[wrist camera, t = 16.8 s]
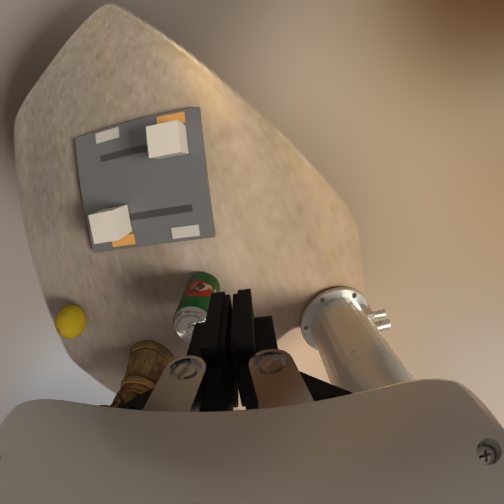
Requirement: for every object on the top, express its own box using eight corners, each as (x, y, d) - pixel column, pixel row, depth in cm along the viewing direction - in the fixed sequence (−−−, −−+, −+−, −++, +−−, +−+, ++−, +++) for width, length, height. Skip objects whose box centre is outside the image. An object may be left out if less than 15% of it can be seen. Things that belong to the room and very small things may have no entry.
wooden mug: (106, 354, 47) (70, 417, 30) (157, 334, 46) (126, 409, 28) (132, 385, 50) (107, 450, 32) (184, 369, 48) (166, 445, 31)
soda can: (181, 282, 43) (162, 323, 31) (206, 265, 42) (194, 302, 30) (201, 306, 44) (190, 351, 33) (226, 289, 43) (222, 333, 32)
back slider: (127, 204, 37) (112, 210, 32) (132, 231, 38) (118, 240, 33) (104, 209, 37) (88, 215, 32) (109, 234, 38) (94, 244, 33)
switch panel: (200, 108, 35) (198, 106, 33) (215, 234, 40) (214, 237, 39) (80, 138, 35) (74, 138, 33) (97, 249, 40) (93, 253, 39)
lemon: (95, 324, 45) (77, 348, 37) (73, 322, 45) (54, 344, 37) (88, 298, 43) (67, 320, 35) (66, 296, 43) (44, 317, 35)
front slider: (185, 125, 34) (177, 120, 29) (188, 153, 35) (180, 152, 30) (157, 131, 34) (145, 126, 29) (160, 158, 35) (149, 158, 30)
